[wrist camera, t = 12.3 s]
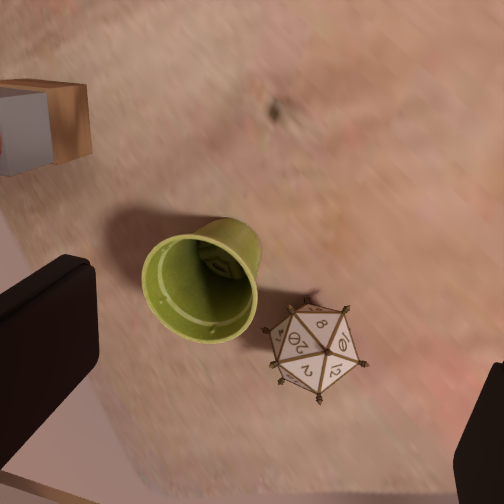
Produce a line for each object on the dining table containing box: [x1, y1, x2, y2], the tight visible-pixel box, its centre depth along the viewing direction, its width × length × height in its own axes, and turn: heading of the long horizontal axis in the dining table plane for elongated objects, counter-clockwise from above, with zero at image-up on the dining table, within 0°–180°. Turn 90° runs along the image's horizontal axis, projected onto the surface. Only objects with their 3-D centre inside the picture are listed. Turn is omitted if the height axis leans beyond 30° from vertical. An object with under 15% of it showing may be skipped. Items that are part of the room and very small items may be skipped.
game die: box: [261, 296, 369, 405], centre depth 39 cm, size 9×8×10 cm
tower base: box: [0, 79, 92, 165], centre depth 39 cm, size 6×6×5 cm
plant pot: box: [141, 218, 261, 344], centre depth 38 cm, size 9×9×9 cm
